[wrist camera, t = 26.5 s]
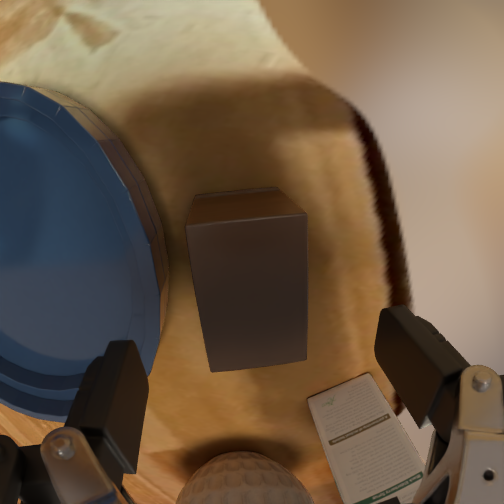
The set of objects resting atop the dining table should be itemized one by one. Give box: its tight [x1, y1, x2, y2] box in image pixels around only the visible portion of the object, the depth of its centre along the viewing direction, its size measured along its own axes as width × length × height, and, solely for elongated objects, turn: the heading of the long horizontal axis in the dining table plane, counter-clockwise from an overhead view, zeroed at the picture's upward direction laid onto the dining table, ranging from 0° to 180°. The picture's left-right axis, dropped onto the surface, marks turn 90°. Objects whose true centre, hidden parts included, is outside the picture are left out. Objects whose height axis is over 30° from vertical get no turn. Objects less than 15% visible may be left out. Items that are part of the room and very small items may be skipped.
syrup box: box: [307, 373, 425, 504], centre depth 17 cm, size 6×6×14 cm
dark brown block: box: [185, 187, 308, 373], centre depth 15 cm, size 7×4×6 cm, turn 4°
